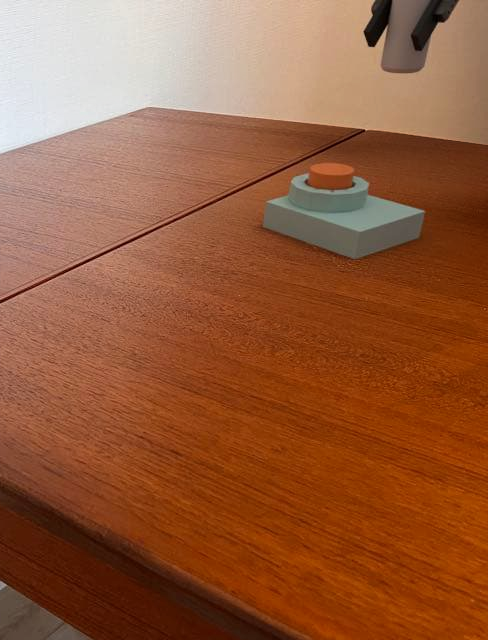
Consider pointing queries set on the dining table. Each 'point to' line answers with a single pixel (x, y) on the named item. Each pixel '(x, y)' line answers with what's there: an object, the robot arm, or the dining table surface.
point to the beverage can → (403, 38)
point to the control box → (342, 218)
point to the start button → (330, 176)
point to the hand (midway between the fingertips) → (392, 41)
